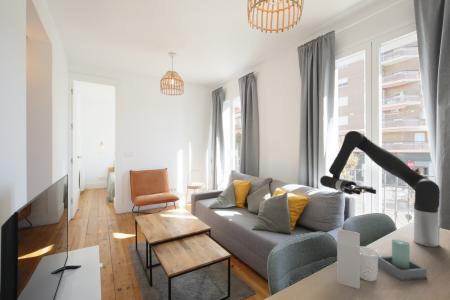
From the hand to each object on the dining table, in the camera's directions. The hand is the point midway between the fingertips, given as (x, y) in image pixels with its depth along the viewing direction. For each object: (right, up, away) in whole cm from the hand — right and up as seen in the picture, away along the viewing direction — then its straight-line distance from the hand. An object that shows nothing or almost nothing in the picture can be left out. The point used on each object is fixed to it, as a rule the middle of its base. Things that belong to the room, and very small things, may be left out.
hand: (367, 192), depth 109 cm
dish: (0, -28, -21) cm, 35 cm away
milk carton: (-25, -29, -27) cm, 46 cm away
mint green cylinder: (0, -27, -21) cm, 34 cm away
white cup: (-16, -29, -24) cm, 40 cm away
